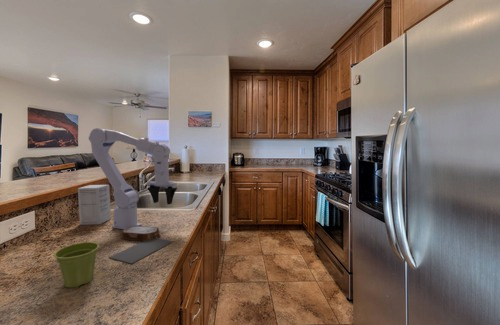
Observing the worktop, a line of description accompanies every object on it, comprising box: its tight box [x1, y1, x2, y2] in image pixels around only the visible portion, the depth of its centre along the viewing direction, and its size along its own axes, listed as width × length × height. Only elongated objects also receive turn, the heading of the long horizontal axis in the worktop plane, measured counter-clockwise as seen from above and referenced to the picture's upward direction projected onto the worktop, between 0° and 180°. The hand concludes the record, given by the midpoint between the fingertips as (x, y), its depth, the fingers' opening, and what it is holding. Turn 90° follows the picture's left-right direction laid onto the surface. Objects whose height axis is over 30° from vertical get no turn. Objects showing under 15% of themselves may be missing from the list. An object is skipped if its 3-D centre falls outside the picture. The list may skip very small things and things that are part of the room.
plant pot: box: [53, 241, 100, 288], centre depth 62 cm, size 9×9×9 cm
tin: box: [120, 225, 160, 242], centre depth 94 cm, size 15×3×8 cm
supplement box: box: [77, 184, 112, 226], centre depth 112 cm, size 10×9×17 cm
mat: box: [108, 237, 174, 265], centre depth 82 cm, size 10×18×1 cm, turn 157°
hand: (162, 203), depth 105 cm, fingers open, 7 cm apart
